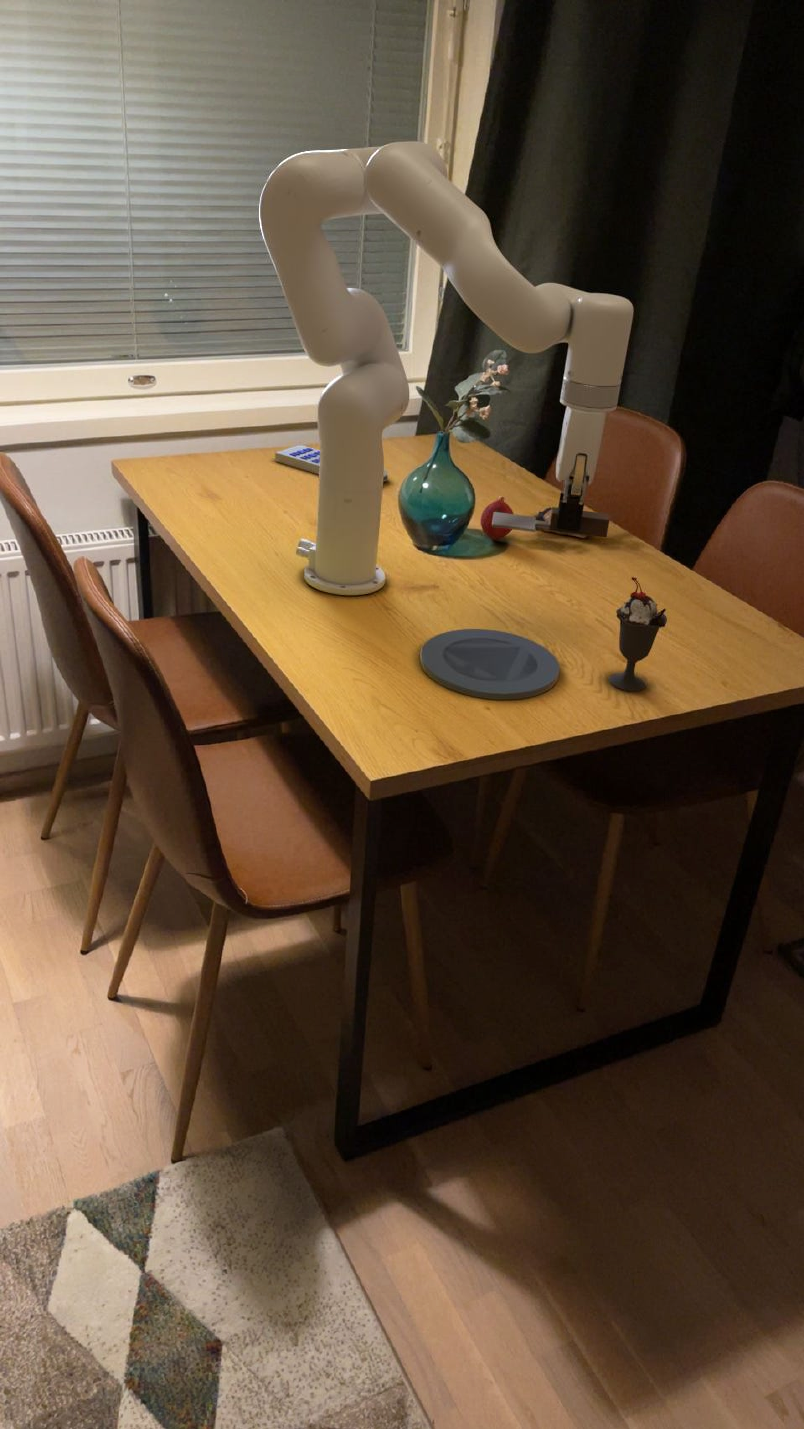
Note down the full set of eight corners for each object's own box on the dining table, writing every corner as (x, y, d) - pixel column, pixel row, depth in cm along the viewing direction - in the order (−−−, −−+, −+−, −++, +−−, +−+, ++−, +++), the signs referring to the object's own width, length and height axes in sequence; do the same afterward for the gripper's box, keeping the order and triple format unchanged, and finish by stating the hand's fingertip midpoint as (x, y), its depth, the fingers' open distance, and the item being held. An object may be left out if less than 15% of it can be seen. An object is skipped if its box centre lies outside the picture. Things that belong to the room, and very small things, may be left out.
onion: (509, 549, 192) (515, 504, 188) (475, 544, 193) (481, 499, 189) (513, 537, 197) (519, 493, 193) (480, 532, 198) (486, 488, 194)
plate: (393, 669, 150) (394, 662, 150) (461, 623, 165) (461, 616, 164) (521, 715, 142) (522, 708, 142) (580, 662, 157) (581, 655, 156)
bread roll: (594, 526, 206) (598, 507, 204) (584, 540, 199) (588, 520, 197) (538, 514, 209) (541, 495, 207) (526, 528, 202) (529, 508, 200)
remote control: (300, 454, 229) (300, 443, 228) (391, 480, 218) (392, 469, 217) (275, 461, 223) (275, 450, 222) (367, 489, 212) (368, 478, 211)
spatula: (491, 526, 156) (494, 509, 155) (493, 514, 161) (495, 497, 160) (606, 541, 155) (610, 523, 154) (605, 528, 160) (608, 510, 159)
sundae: (596, 670, 155) (616, 569, 148) (644, 672, 156) (666, 572, 148) (608, 693, 149) (629, 590, 142) (657, 695, 150) (681, 592, 143)
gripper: (561, 376, 156) (541, 503, 165) (561, 405, 142) (540, 542, 151) (615, 383, 155) (592, 510, 165) (621, 412, 141) (596, 549, 151)
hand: (567, 524), depth 158 cm, fingers closed on spatula, 2 cm apart
